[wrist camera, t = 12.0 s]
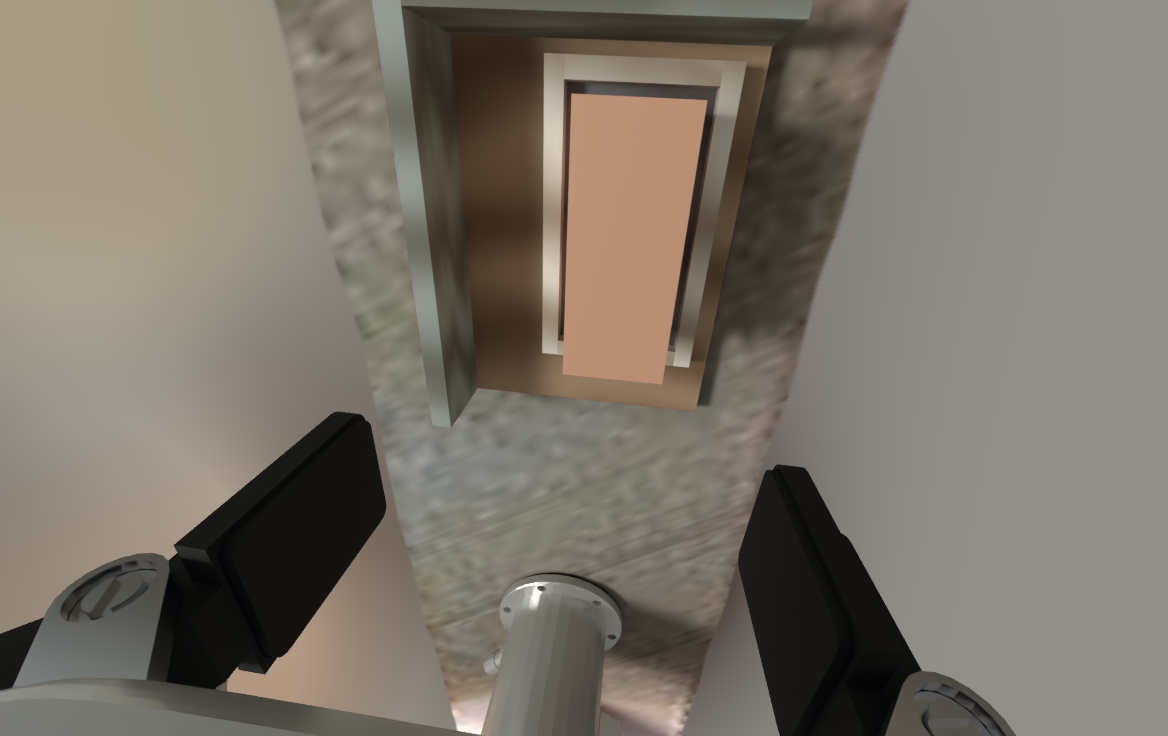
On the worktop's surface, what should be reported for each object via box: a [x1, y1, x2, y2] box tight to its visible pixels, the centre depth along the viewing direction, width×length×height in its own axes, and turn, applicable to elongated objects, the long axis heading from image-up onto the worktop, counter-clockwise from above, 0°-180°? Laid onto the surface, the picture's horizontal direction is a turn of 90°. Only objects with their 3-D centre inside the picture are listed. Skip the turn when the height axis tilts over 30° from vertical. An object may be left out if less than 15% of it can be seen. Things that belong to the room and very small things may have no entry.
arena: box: [372, 0, 813, 428], centre depth 24 cm, size 22×17×6 cm
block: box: [563, 94, 707, 385], centre depth 22 cm, size 12×5×7 cm, turn 177°
